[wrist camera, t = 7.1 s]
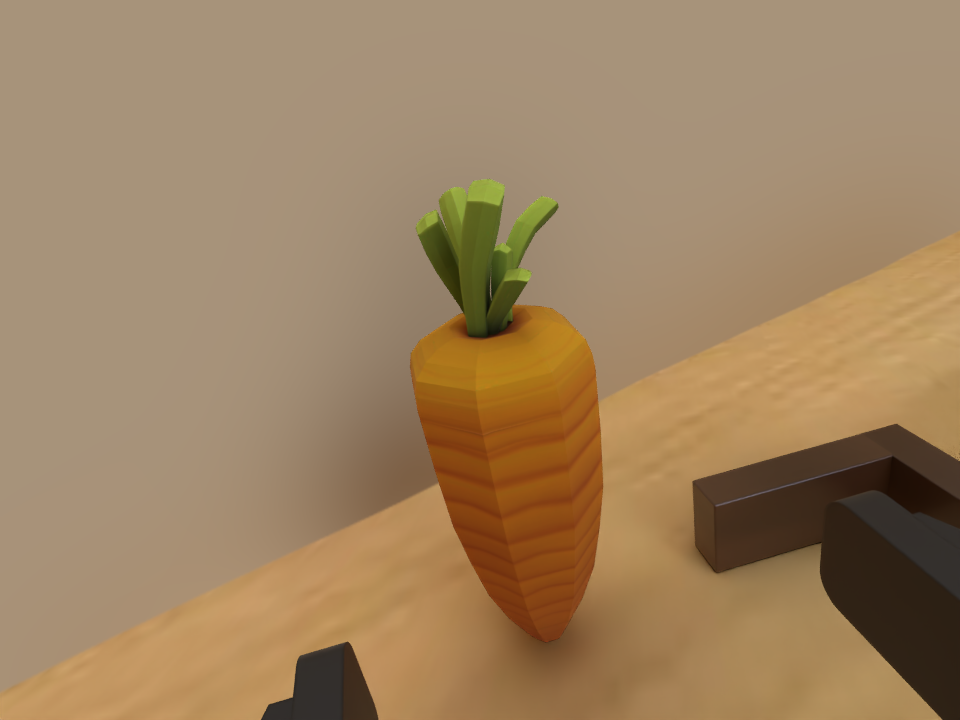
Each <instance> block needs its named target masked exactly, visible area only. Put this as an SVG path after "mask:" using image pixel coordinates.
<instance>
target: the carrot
mask: <svg viewBox="0 0 960 720" xmlns="http://www.w3.org/2000/svg"><path fill="white" fill-rule="evenodd" d="M504 187H505V186H504V185H502V184H500V183H498V182H495V181H493V180H491V179H486V180H478V181H473V182H472V184H471V185H470V187H469V190H468V195H466V192H465V190H464V189H463V188H459V187H455V188H452V189H449V190H448V191H447V192H445V193H444V194H443V195H442V196H441V198H440V199H439V205H440V209H441V213H442V216H443V220H444V223H445V226H446V228H445V226H444V224H443V222H442V220H441V218H440V216H439V214H438V212H437V210H434V211H432V212H429V213H427V214H425V215H424V216H423V218H422V219H421V220H420V221H419V222H418V223H417V226H416V230H417V233H418V236H419V239H420V241H421V243H422V245H423V248H424V250H425V252H426V254H427V256H428V258H429V260H430V261H431V263H432V265H433V267H434V269H435V271H436V272H437V274H438V275H439V277H440V278H441V280H442V281H443V282H444V284H445V286H446V287H447V288H448V290H449V291H450V293H451V294H452V296H453V297H454V299H455V300H456V302H457V303H458V304H459V306H460V308H461V310H462V311H463V313H461V314H459V315H457V316H455V317H454V318H452V319H451V320H449V321H448V322H446V323H445V324H443V325H442V326H440V327H439V328H438V329H436V330H434V331H433V332H431V333H430V334H428V335H427V336H426V337H424V338H423V339H421V340H420V341H419V342H418V344H417V345H416V347H415V348H414V350H413V351H412V353H411V359H410V369H411V376H412V382H413V388H414V393H415V399H416V404H417V410H418V414H419V417H420V420H421V424H422V428H423V431H424V434H425V438H426V441H427V445H428V448H429V452H430V455H431V458H432V462H433V465H434V469H435V472H436V475H437V478H438V481H439V484H440V487H441V491H442V494H443V497H444V500H445V503H446V506H447V509H448V512H449V515H450V518H451V521H452V524H453V527H454V529H455V531H456V533H457V535H458V537H459V539H460V541H461V543H462V545H463V548H464V550H465V552H466V554H467V556H468V558H469V560H470V562H471V564H472V566H473V568H474V569H475V571H476V573H477V575H478V577H479V578H480V580H481V582H482V584H483V585H484V587H485V589H486V591H487V593H488V594H489V596H490V597H491V598H492V599H493V601H494V602H495V603H496V604H497V605H498V606H499V607H500V608H501V610H502V611H503V612H504V613H505V614H506V615H507V616H508V618H509V619H511V620H512V621H513V622H514V623H516V624H517V625H518V626H520V627H521V628H522V629H523V630H525V631H526V632H527V633H529V634H530V635H531V636H532V637H534V638H537V639H539V640H541V641H544V642H549V641H552V640H555V639H559V638H560V637H561V635H562V633H563V632H564V630H565V628H566V627H567V625H568V623H569V621H570V620H571V618H572V616H573V614H574V612H575V611H576V609H577V607H578V605H579V603H580V602H581V600H582V598H583V595H584V592H585V590H586V587H587V584H588V581H589V579H590V576H591V573H592V570H593V567H594V562H595V555H596V548H597V542H598V535H599V528H600V516H601V505H602V494H603V473H602V451H601V430H600V418H599V406H598V394H597V382H596V370H595V365H594V360H593V355H592V352H591V350H590V348H589V346H588V344H587V341H586V339H585V338H584V337H583V336H582V335H581V334H580V333H579V332H578V331H577V330H576V329H575V328H574V327H573V326H572V325H571V324H570V322H569V321H568V320H567V319H566V318H565V317H564V316H562V315H561V314H559V313H558V312H557V311H555V310H554V309H552V308H547V307H542V306H527V305H514V303H515V302H516V300H517V298H518V297H519V295H520V294H521V292H522V290H523V289H524V287H525V286H526V284H527V282H528V281H529V278H530V276H531V272H530V271H529V270H526V269H523V268H518V266H519V264H520V262H521V260H522V258H523V256H524V253H525V251H526V249H527V248H528V246H529V244H530V242H531V240H532V238H533V237H534V235H535V233H536V232H537V231H538V230H539V229H540V228H541V227H542V226H543V225H544V224H545V223H546V222H547V221H548V220H549V218H551V216H552V215H553V214H554V213H555V212H556V210H557V209H558V203H557V202H556V201H554V200H553V199H551V198H547V197H543V196H541V197H540V198H539V199H538V200H536V201H535V202H534V203H533V204H531V205H530V206H529V207H528V209H526V210H525V212H524V213H523V214H522V215H521V216H520V217H519V218H518V219H517V220H516V222H515V224H514V226H513V229H512V231H511V233H510V235H509V238H508V240H507V242H506V245H505V244H504V243H501V244H500V245H497V246H496V247H495V244H496V239H497V234H498V230H499V225H500V218H501V211H502V205H503V198H504ZM446 229H447V230H446ZM490 277H491V296H492V297H490ZM491 299H492V300H491Z"/></svg>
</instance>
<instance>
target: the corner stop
mask: <svg viewBox="0 0 960 720" xmlns="http://www.w3.org/2000/svg"><path fill="white" fill-rule="evenodd" d="M871 490H876V491H879V492H882V493H884V494H886V495H887V496H889V497H890V498H891V499H893V500H894V501H895V502H897V503H898V504H899V505H901V506H902V507H903V508H905V509H906V510H908V511H909V512H910V513H912V514H915V513H918V512H921V513H923V514H926V515H928V516H930V517H933V518H935V519H937V520H940V521H942V522H945V523H947V524H949V525H952V526H954V527H956V528H959V529H960V461H958V460H957V459H955V458H953V457H952V456H950V455H948V454H947V453H945V452H943V451H941V450H940V449H938V448H936V447H935V446H933V445H931V444H930V443H928V442H926V441H925V440H923V439H921V438H920V437H918V436H916V435H915V434H913V433H911V432H910V431H908V430H906V429H904V428H903V427H901V426H899V425H898V424H894V425H890V426H887V427H883V428H880V429H876V430H872V431H869V432H865V433H862V434H859V435H855V436H852V437H848V438H844V439H841V440H837V441H834V442H830V443H826V444H823V445H819V446H816V447H812V448H809V449H805V450H801V451H798V452H794V453H791V454H787V455H783V456H780V457H776V458H773V459H769V460H766V461H762V462H758V463H755V464H751V465H748V466H744V467H740V468H737V469H733V470H730V471H726V472H723V473H719V474H715V475H712V476H708V477H705V478H701V479H697V480H694V481H693V504H694V527H695V545H696V547H697V548H698V549H699V551H700V552H701V553H702V555H703V556H704V557H705V558H706V560H707V561H708V562H709V564H710V565H711V566H712V568H713V569H714V570H715V572H721V571H724V570H727V569H731V568H734V567H737V566H741V565H744V564H748V563H751V562H754V561H758V560H761V559H764V558H768V557H771V556H775V555H778V554H781V553H785V552H788V551H792V550H795V549H798V548H802V547H805V546H808V545H812V544H815V543H819V542H822V534H823V520H824V510H825V507H826V506H827V504H829V503H830V502H833V501H837V500H840V499H844V498H847V497H850V496H854V495H857V494H861V493H864V492H868V491H871Z"/></svg>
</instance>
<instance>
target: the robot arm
mask: <svg viewBox="0 0 960 720" xmlns="http://www.w3.org/2000/svg"><path fill="white" fill-rule="evenodd" d="M820 575H821V580H822V583H823V586H824V588H825V591H826V593H827V595H828V596H829V598H830V600H831V601H832V603H833V604H834V605H835V607H836V608H837V609H838V610H839V611H840V612H841V613H842V614H843V615H844V617H845V618H846V619H847V620H848V621H849V622H850V623H851V624H852V625H853V626H854V627H855V628H856V629H857V630H858V631H859V632H860V633H861V634H862V635H863V636H864V638H865V639H866V640H867V641H868V642H869V643H870V644H871V645H872V646H873V647H874V648H875V649H876V650H877V651H878V652H879V653H880V654H881V655H882V656H883V658H884V659H885V660H886V661H887V662H888V663H889V664H890V665H891V666H892V667H893V668H894V669H895V670H896V671H897V672H898V673H899V674H900V675H901V676H902V678H903V679H904V680H905V681H906V682H907V683H908V684H909V685H910V686H911V687H912V688H913V689H914V690H915V691H916V692H917V693H918V694H919V695H920V696H921V697H922V699H923V700H924V701H925V702H926V703H927V704H928V705H929V706H930V707H931V708H932V709H933V710H934V711H935V712H936V713H937V714H938V715H939V716H940V717H941V719H942V720H960V529H959V528H956V527H954V526H952V525H949V524H947V523H945V522H942V521H940V520H937V519H935V518H933V517H930V516H928V515H926V514H923V513H921V512H918V513H915V514H912V513H910V512H909V511H908V510H906V509H905V508H903V507H902V506H901V505H899V504H898V503H897V502H895V501H894V500H893V499H891V498H890V497H889V496H887V495H886V494H884V493H882V492H879V491H876V490H871V491H868V492H864V493H861V494H857V495H854V496H850V497H847V498H844V499H840V500H837V501H833V502H830V503H829V504H827V506H826V507H825V510H824V520H823V534H822V547H821V561H820ZM261 720H378V715H377V711H376V708H375V704H374V702H373V699H372V696H371V694H370V691H369V689H368V686H367V684H366V681H365V679H364V676H363V674H362V671H361V668H360V666H359V663H358V661H357V658H356V656H355V653H354V651H353V648H352V646H351V645H350V643H349V642H345V643H342V644H338V645H335V646H332V647H328V648H325V649H321V650H318V651H314V652H311V653H308V654H304V655H301V656H300V657H299V658H298V661H297V665H296V673H295V683H294V692H293V698H289V699H286V700H283V701H279V702H276V703H273V704H269V705H268V707H267V709H266V711H265V713H264V715H263V717H262V719H261Z"/></svg>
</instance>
